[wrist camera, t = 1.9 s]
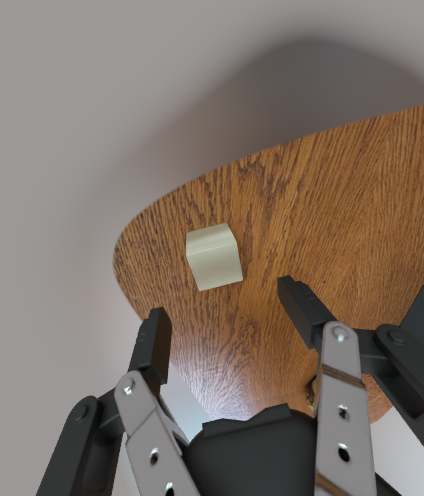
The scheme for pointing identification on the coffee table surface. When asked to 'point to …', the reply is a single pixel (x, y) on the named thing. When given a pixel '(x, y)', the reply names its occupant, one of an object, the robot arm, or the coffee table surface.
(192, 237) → the block
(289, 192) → the coffee table surface
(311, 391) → the ice cream cone
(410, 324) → the cabinet
